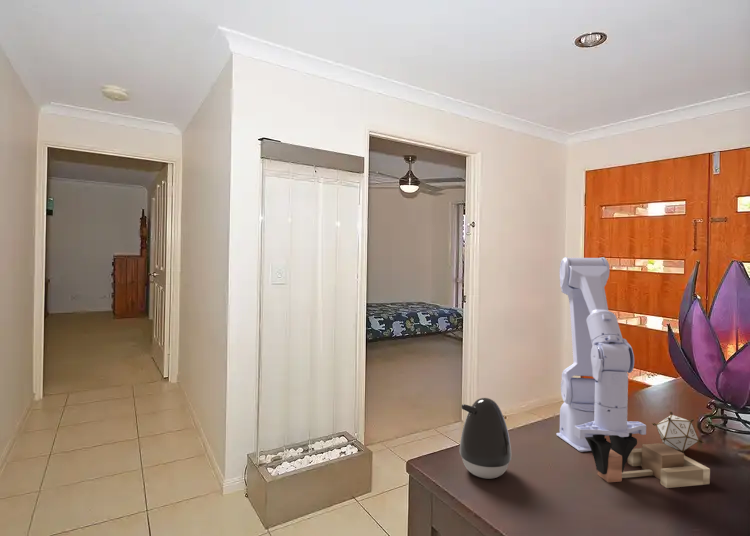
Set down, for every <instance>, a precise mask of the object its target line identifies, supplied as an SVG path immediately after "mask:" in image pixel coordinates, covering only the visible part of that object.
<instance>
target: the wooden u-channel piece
mask: <svg viewBox="0 0 750 536" xmlns="http://www.w3.org/2000/svg"><path fill="white" fill-rule="evenodd" d="M627 464H628V465H630V466H631V467H642V447H638V448H633V450H632V451H631V453H630V454H629V456H628V459H627ZM710 479H711V468H709V467H707V466H706V465H703V464H702V463H700V462H698V461H696V460H694V459H692V458H690V457H688V456H686V455H685V454H684V467H674V468H663V469H661V479H659V480H660V482H659V484H660V485H662V486H663V487H665V489H669V488H670V489H671V488H680V487H681V488H682V487H683V488H684V487H692V486H693V487H694V486H703V485H710Z"/></svg>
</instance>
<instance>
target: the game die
mask: <svg viewBox="0 0 750 536" xmlns="http://www.w3.org/2000/svg"><path fill="white" fill-rule="evenodd" d="M694 420H695V418H690V420H689V419H686V418H684V417H681V416H679V415H678V416H677V415H675V414H674V413H673V411H671V410H670V411H669V415H668V416H667V417H664V419H662V420H661V421H659V422H657V423H654V422H651V424H652V425H653V426H655V427H656V429H657V432H658V434H659V437H660V439H661V443H664V444H666V445H668V446H670V447H672V448H674V449H676V450H678V451H680V452H682V453H684V454H685V451H686V450H688V449H690V448H691V447H693V446H694V445H696V444H697V443H700V444H703V443H705V442H704V441H703V440H702V439H701V440H700V439H699V436H698V434H697V432H696V429H695V426H694V424H693V422H694Z"/></svg>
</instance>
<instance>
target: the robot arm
mask: <svg viewBox="0 0 750 536" xmlns="http://www.w3.org/2000/svg"><path fill="white" fill-rule="evenodd" d="M609 278H610V263H609V261H608V260H607V259H606V257H604V256H603V257H568V256H565V257H563V258H562V259H561V261H560V265H559V286H560V289H561V293H563V294H564V295H566V296H567V298H568V302H569V311H570V313H569V314H570V329H571V330H570V331H571V343H572V344H571V345H572V358H573V359H572V360H573V361H572V364H570V365H569V366H567V367H566V368H564V369H562V372H561V382H560V394H561V399H562V401H563V403H562V404H561V406H560V408H559V432H556V436H557V437H559V438H560V439H562V441H564V442H565V443H567V444H569V445H570V446H572V447H573V448H574V449H575V450H577V451H579V452H581V453H583V452H591V453H592V456H593V459H594V464H595V469H596V471H597V472H598V471H599V472H601V473H602V474H607V470H608V457H609V452H610V449H612V450H613V451H615V452H616V453H618V454H620V455H621V456H622V473H623V472H624V471H625V470H624V469H625V466H626V464H627V462H628V456H629V454H630V453H631V451H632V450H633V449H635V447H636V446H637V444H638V439H637V438H636V437H635V436H633V435H634V434H635V435H636V434H639V435H642V436H643V435H645V436H646V435H647V425H646V424H644V422H641V421H637V420H636V421H628V406H629V405H628V404H629V403H628V401H629V400H628V398H629V396H628V395H629V390H628V389H629V373H630V374H631V373H632V372H633V371H634V368H635V367H634V366H635V354H634V350H633V347H632V346H631V344H630V343H629V342H628V340H627V339H626V338H623V335H622V332H621V329H620V325H619V322H618V321H619V320H618V319H617V316H616V314H615V313H614V312H612V311H609V305H608V300H607V294H606V289H605V287H606V285H607V283H608V280H609ZM575 376H576V377H575ZM579 376H580V377H579ZM607 436H608V438H609V441H608V440H607V438H606V437H607Z"/></svg>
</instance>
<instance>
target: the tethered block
mask: <svg viewBox="0 0 750 536" xmlns="http://www.w3.org/2000/svg"><path fill="white" fill-rule="evenodd" d="M641 448H642V466H641V470H640V469H639V470H628V471H623V473H622V456H621V455H620V454H618V453H616V452H615V451H613V450H612V449H610V452H609V457H608V470H607V474H602V473H601V472H599V471H598V470H597V476H598V477H600V478H601V479H603V480H604V481H605V482H606V483H608V484H609V483H616V482H617V483H618V482H622V480H623V479H628V478H638V477H650V476H651V477H652V476H653V477H655V478H656V479H658V480H660V479H661V469H663V468H674V467H684V455H685V452H684V453H682V451H679V450H677V449H675V448H672V447H670V446H668V445H666V444H664V443H663V442H661V443H660V442H657V443H656V442H655V443H645V444H641Z"/></svg>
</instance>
